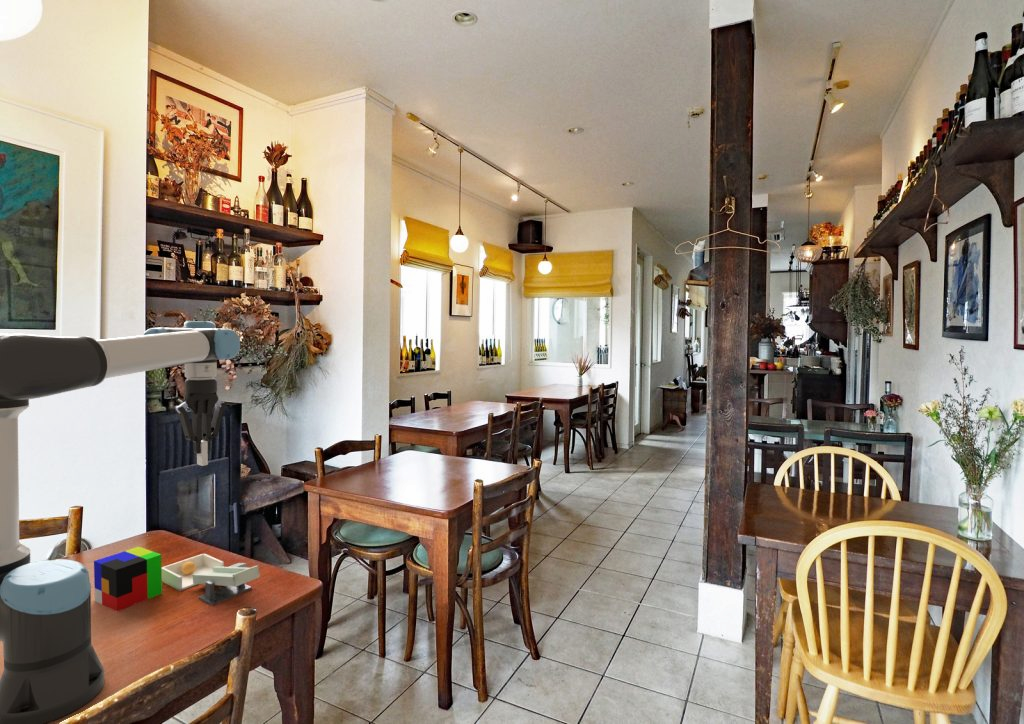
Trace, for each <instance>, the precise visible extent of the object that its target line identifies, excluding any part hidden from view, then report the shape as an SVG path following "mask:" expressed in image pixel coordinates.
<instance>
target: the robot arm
mask: <svg viewBox="0 0 1024 724" xmlns="http://www.w3.org/2000/svg"><path fill="white" fill-rule="evenodd" d="M240 349H241V339H240V336H239V334H238V333H237V332H236V331H235V330H233V329H230V328H223V327H219V328H216V324H215V322H213V321H205V320H204V321H203V320H202V321H201V320H200V321H199V320H198V321H197V320H193V321H192V320H186V321H185V322H184V323H183V327H163V326H162V327H161V326H159V327H151V328H147V330H145V331H144V332H143V333H142V335H135V336H125V337H116V338H107V339H106V338H105V339H95V338H93V337H91V336H89V335H88V336H87V335H78V336H52V335H38V334H28V333H0V642H2V649H3V672H2V674H1V677H0V724H46V723H50V722H52V721H55V720H57V719H60V718H61V717H64V716H65V717H66V716H67V715H69V714H71V713H73V712H75V711H76V710H78V709H80V708H81V707H83V706H84V705H86V704H87V703H89V702H90V701H91V700H93V699H94V698H95V697H96V696H97V695H98V694H99V693H100V692H101V691H102V690H103V687H104V685H105V670H104V669H105V668H104V666H103V664H102V662H101V661H100V658H99V656H98V654H97V652H96V650H95V648H94V646H93V644H92V600H91V599H92V595H91V592H92V583H91V580H90V574H89V571H88V569H87V567H86V566H85V565H84V564H83V563H81V562H80V561H76V560H73V559H66V558H56V559H53V560H50V559H43V560H42V559H41V560H38V561H33V562H31V548H29V547H28V546H26V545H24V544H21V543H20V501H19V500H20V498H19V496H20V495H19V489H20V487H19V483H20V482H19V481H20V480H19V479H20V477H19V415H20V414H21V413H23V412H24V411H25V410H27V409H28V408H29V407H30V400H33V399H40V398H44V397H49V396H54V395H58V394H62V393H67V392H71V391H76V390H81V389H86V388H89V387H90V388H92V387H94V386H99V385H100V384H102V383H103V382H104V380H105V379H109V378H115V377H120V376H127V375H132V374H137V373H142V372H148V371H155V370H159V369H165V368H171V367H175V366H180V365H184V377H185V378H186V379H185V380H184V394H185V396H184V398H183V402H182V403H180V404H179V405H175V406H174V410H175V412H176V413H177V414H178V417H179V420H180V424H181V428H182V431H183V434H184V437H185V440H187V441H190V442H191V441H192V443H193V453H194V454H196V465H198V466H202V467H204V466H207V465H209V454H208V453H209V452H211V448H212V447H211V442H212V441H213V440H214V438H217V437H218V436H219V433H220V428H221V423H222V419H223V413H224V410H225V409H226V407H227V405H228V404H227V402H226V401H222V400H220V399H219V396H218V394H217V392H218V380H217V378H216V377H217V375H218V373H217V372H218V367H217V366H218V364H217V360H221V361H223V360H232V359H234V358H235V357H236V356H238V354H239V352H240ZM188 409H189V411H190V415H191V419H190V415H189V413H188ZM213 409H214V410H213ZM191 421H192V422H191Z"/></svg>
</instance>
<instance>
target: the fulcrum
mask: <svg viewBox="0 0 1024 724" xmlns="http://www.w3.org/2000/svg"><path fill="white" fill-rule="evenodd" d="M204 585H205V590H204V591H205V593H204V594H202V595H200V596H198V600H200V601H202V602H204V603H206V604H207V605H210V606H211V607H212V606H214V605H217V604H221V603H222V602H225V601H227V600H229V599H232V598H234V597H237V596H238V595H241V594H243V593H246V592H249V591H251V590H252V588H253V587H252V586H250V585H248V584H246V583H244V584H241V585H239V586H236V587H234V586H222V587H219V588H217V589H215V585H214V582H212V581H207V582H205V584H204ZM250 589H251V590H250ZM248 590H249V591H248ZM245 591H246V592H245Z"/></svg>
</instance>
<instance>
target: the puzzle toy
mask: <svg viewBox="0 0 1024 724" xmlns="http://www.w3.org/2000/svg"><path fill="white" fill-rule="evenodd" d="M161 567H162V554H161V553H158V552H156V551H152V550H150V549H147V548H144V547H141V546H136V547H134V548H130V549H127V550H125V551H121V552H118V553H116V554H112V555H109V556H105V557H102V558H98V559H96V560H93V577H94V581H93V584H94V602H96V603H98V604H100V605H103V606H104V607H106V608H109V609H111V610H114V611H115V612H119V611H122V610H125V609H127V608H130V607H132V606H135V605H137V604H139V603H142V602H144V601H147V600H149V599H151V598H154V597H156V596H159V595H162V594H163V588H162V587H163V584H162V583H163V582H162V568H161Z"/></svg>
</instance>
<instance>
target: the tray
mask: <svg viewBox="0 0 1024 724" xmlns="http://www.w3.org/2000/svg"><path fill="white" fill-rule="evenodd" d="M187 562H193V563H194V564H195V566H196V568H195V571H194V572H193V573H191V574H184V573H183V572H182V566H183V565H184V564H185V563H187ZM224 563H225V562H224V560H221V559H218V558H216V557H214V556H212V555H210V554H208V553H207V554H206V553H205V552H204V553H201V554H198V555H195V556H192V557H188V558H185V559H183V560H180V561H177V562H174V563H171V564H168V565H164V566H161V568H162V583H164V584H165V585H168V586H170V587H172V588H174V589H175V590H177V591H179V592H182V591H184V590H186V589H190V588H191V587H195V586H197V585H198V584H193V578H192V575H193V574H209V573H212V572H213V567H215V566H219V567H225V564H224Z"/></svg>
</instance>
